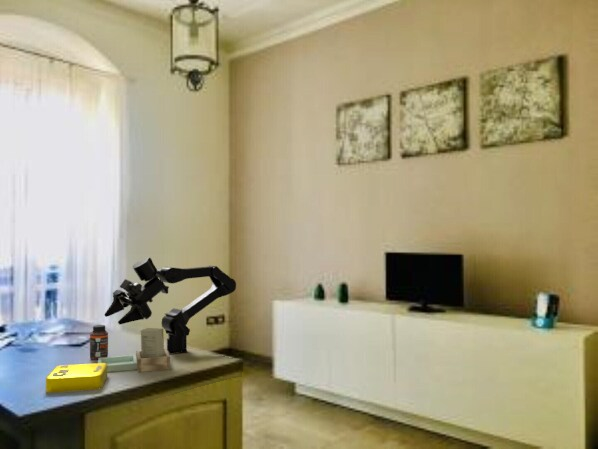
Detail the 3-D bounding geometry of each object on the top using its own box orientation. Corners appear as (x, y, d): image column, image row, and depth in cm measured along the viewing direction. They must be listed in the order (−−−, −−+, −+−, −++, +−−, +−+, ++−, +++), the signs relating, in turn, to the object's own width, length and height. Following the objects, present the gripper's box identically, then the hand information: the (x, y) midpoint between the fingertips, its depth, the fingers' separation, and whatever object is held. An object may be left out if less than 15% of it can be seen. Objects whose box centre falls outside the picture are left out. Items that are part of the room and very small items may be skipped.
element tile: (101, 390, 150) (101, 373, 150) (44, 394, 147) (43, 377, 147) (108, 376, 165) (108, 360, 165) (56, 379, 162) (56, 363, 162)
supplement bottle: (101, 360, 183) (101, 327, 183) (86, 359, 184) (86, 327, 184) (111, 356, 188) (111, 324, 188) (96, 355, 190) (96, 323, 190)
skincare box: (164, 365, 176) (164, 328, 176) (157, 368, 172) (157, 330, 172) (148, 363, 178) (148, 327, 178) (140, 367, 174) (140, 329, 174)
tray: (135, 360, 183) (135, 354, 183) (137, 369, 171) (137, 363, 171) (98, 363, 179) (98, 357, 179) (97, 372, 167) (97, 366, 167)
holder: (166, 360, 182) (166, 348, 182) (170, 369, 171) (170, 356, 171) (136, 363, 179) (136, 351, 179) (137, 372, 167) (137, 359, 167)
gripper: (124, 267, 190) (87, 294, 181) (153, 279, 177) (115, 309, 169) (137, 291, 195) (102, 318, 187) (166, 304, 183) (130, 334, 174)
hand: (111, 319), depth 179 cm, fingers open, 9 cm apart
